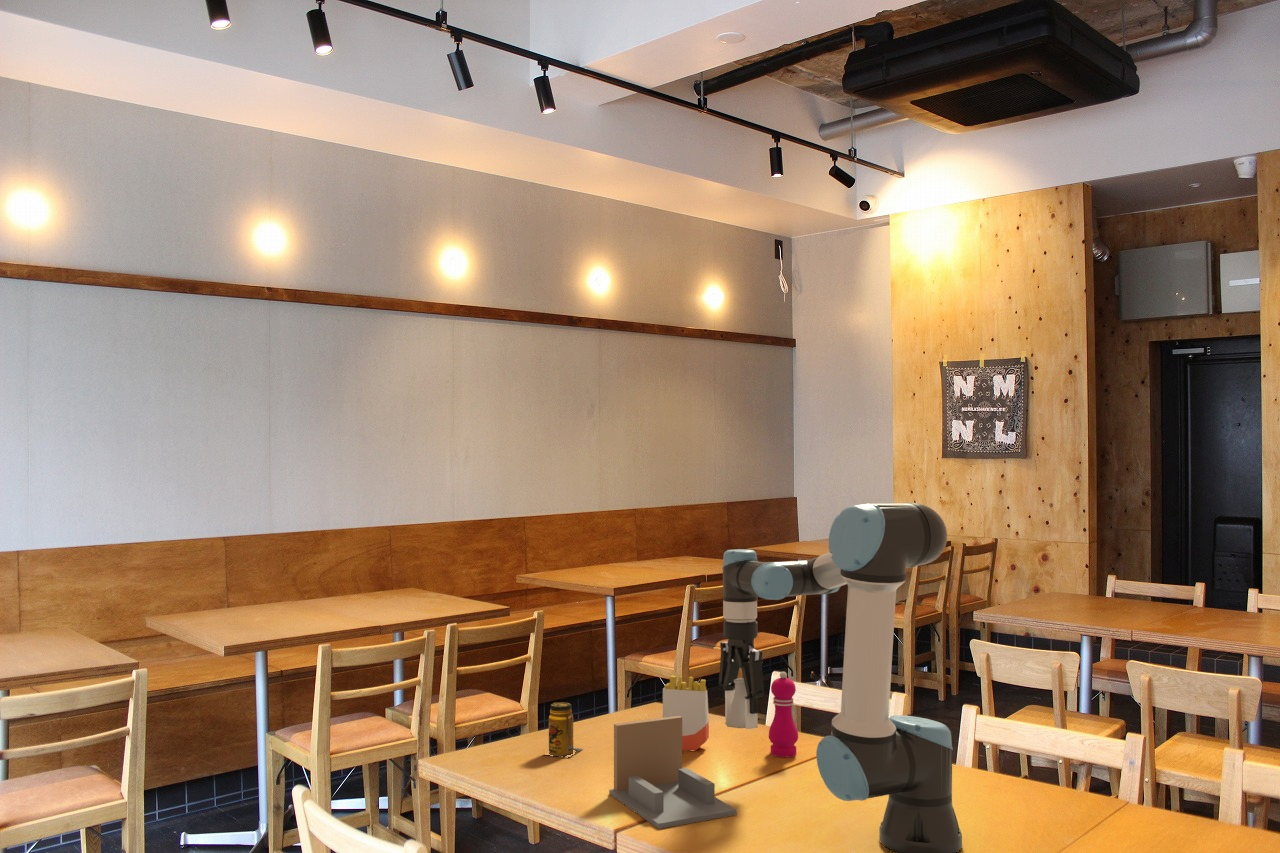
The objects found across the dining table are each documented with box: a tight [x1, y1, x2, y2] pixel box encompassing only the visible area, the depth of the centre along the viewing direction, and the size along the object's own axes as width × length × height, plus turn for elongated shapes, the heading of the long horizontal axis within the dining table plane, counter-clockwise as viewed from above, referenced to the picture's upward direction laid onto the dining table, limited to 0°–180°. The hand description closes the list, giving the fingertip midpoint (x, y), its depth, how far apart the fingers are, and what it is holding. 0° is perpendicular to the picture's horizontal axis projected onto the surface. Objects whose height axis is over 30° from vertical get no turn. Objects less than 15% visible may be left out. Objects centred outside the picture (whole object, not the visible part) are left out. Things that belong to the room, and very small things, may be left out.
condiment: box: [548, 701, 584, 759], centre depth 256 cm, size 7×8×12 cm
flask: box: [724, 678, 747, 729], centre depth 230 cm, size 7×7×10 cm
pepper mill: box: [768, 671, 799, 758], centre depth 255 cm, size 7×7×20 cm
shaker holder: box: [608, 716, 738, 830], centre depth 218 cm, size 23×18×15 cm
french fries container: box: [662, 675, 710, 752], centre depth 260 cm, size 5×11×18 cm, turn 75°
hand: (741, 723), depth 229 cm, fingers closed on flask, 8 cm apart
